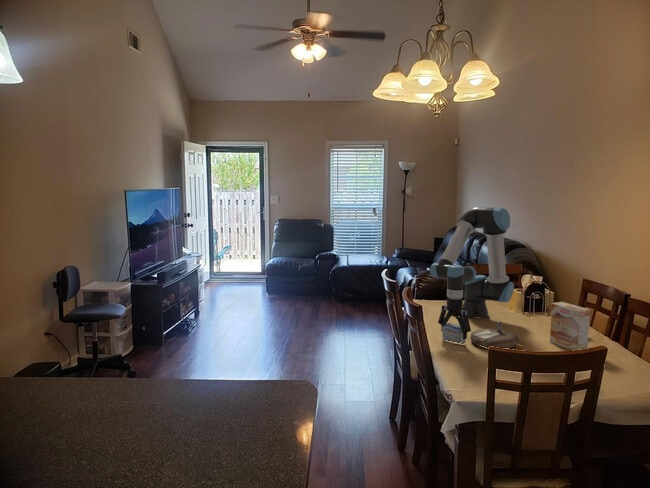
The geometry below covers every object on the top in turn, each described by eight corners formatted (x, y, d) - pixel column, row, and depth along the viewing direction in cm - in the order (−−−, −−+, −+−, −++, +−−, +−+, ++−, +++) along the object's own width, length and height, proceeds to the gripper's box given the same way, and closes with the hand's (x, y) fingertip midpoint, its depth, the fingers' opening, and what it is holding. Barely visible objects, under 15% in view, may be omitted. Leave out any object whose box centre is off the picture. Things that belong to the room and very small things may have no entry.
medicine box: (444, 341, 220) (444, 324, 219) (448, 339, 224) (448, 322, 222) (459, 345, 215) (459, 327, 214) (463, 342, 218) (463, 325, 217)
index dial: (461, 338, 219) (461, 325, 218) (488, 329, 232) (489, 316, 231) (501, 352, 201) (502, 337, 200) (528, 341, 214) (529, 327, 213)
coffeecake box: (549, 342, 217) (551, 303, 215) (559, 340, 220) (561, 301, 217) (577, 352, 204) (579, 311, 201) (588, 350, 206) (590, 309, 204)
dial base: (465, 342, 219) (465, 336, 219) (489, 334, 230) (489, 328, 229) (510, 357, 200) (510, 350, 199) (534, 347, 210) (534, 341, 210)
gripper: (431, 294, 223) (430, 337, 226) (469, 303, 205) (468, 350, 208) (441, 291, 228) (440, 334, 230) (480, 301, 209) (478, 346, 212)
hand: (453, 341), depth 219 cm, fingers open, 10 cm apart
